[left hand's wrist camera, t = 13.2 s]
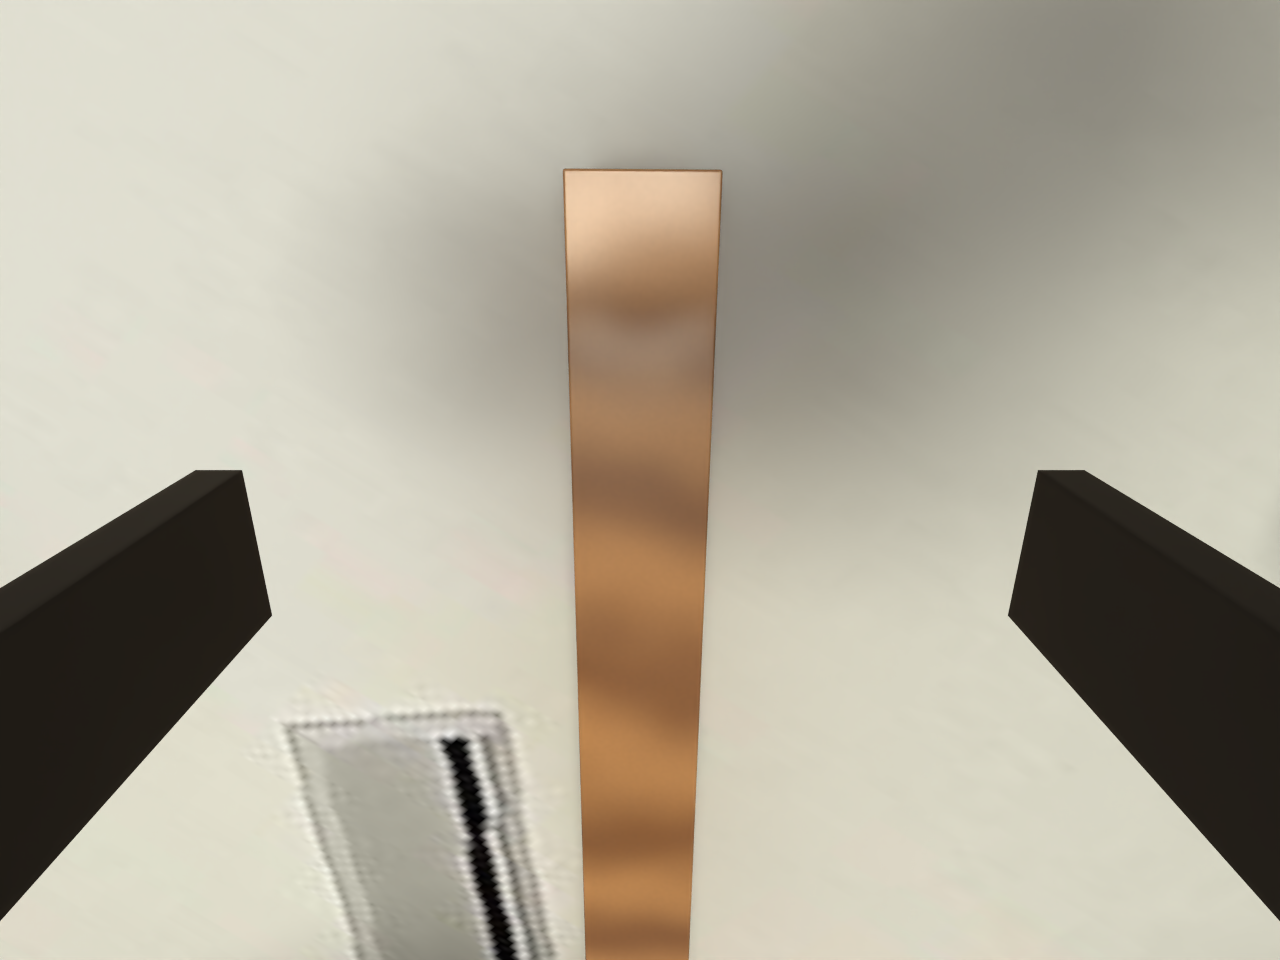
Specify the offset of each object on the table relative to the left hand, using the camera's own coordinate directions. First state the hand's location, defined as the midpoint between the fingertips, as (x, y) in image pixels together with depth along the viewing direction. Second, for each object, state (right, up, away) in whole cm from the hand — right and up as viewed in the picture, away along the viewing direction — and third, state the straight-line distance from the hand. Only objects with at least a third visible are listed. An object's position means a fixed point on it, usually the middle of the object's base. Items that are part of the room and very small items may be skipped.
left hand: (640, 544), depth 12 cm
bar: (0, -15, +28) cm, 31 cm away
